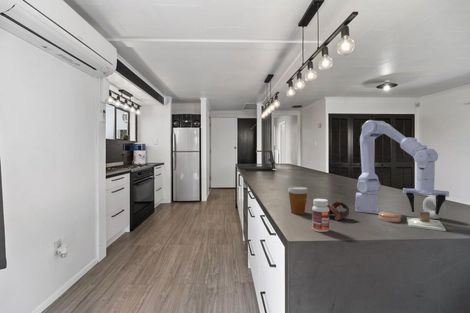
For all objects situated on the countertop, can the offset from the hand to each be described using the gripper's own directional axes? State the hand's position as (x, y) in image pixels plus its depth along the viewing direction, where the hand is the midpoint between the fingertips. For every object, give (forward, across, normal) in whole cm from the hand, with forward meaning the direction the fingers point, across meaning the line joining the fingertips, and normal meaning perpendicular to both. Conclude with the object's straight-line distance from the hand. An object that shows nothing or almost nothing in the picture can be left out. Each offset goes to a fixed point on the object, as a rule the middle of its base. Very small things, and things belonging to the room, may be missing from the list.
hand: (424, 212), depth 100 cm
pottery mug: (+5, -33, -8) cm, 34 cm away
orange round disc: (+5, -12, +1) cm, 13 cm away
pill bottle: (+5, -34, -28) cm, 45 cm away
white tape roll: (+5, +5, +13) cm, 15 cm away
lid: (+4, 0, 0) cm, 4 cm away
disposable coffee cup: (+5, -49, -7) cm, 50 cm away
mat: (+5, 0, 0) cm, 5 cm away
